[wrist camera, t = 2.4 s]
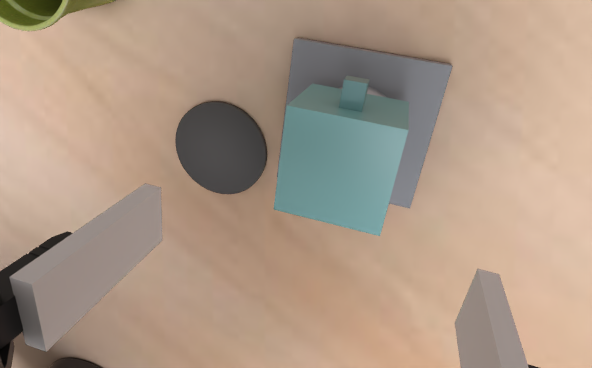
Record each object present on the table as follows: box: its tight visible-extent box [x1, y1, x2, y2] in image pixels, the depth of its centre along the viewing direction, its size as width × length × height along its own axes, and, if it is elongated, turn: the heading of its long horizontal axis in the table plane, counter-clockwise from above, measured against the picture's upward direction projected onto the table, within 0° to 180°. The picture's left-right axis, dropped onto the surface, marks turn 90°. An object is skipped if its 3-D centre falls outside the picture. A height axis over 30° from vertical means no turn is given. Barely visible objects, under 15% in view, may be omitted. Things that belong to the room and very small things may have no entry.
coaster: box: [176, 102, 267, 194], centre depth 38 cm, size 9×9×1 cm
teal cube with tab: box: [274, 76, 409, 236], centre depth 27 cm, size 9×7×7 cm
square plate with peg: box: [277, 38, 452, 208], centre depth 30 cm, size 12×12×9 cm
